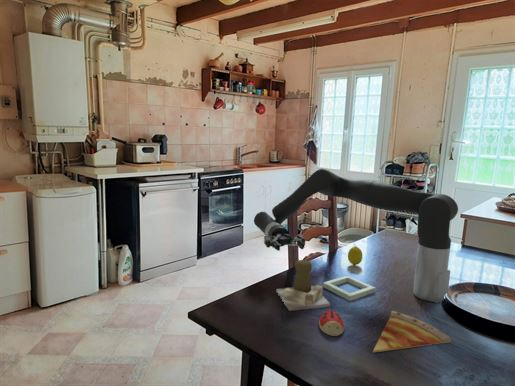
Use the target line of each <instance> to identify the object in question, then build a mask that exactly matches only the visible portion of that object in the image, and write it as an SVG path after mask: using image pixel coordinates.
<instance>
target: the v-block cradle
mask: <svg viewBox="0 0 515 386" xmlns="http://www.w3.org/2000/svg"><path fill="white" fill-rule="evenodd" d="M323 289H324V287H323V285H318V284H316V285H315V286H314V285H311V291H310V292H309V293H305V292H302V291H298V290H294V286H292V287H282V288H276V290H275V292H276V294H277V293H278V294H277V295H278V297H279V296H280V297H279V298H280V300H281V299H282V300H281V301H282V302H284V303H283V304H284V306H285V307H286V308H287V310H288V311H289V312H290V311H291V312H292V311H301V310H309V309H310V310H312V309H319V308H320V309H321V308H329V307H331V303H330V301H328V299H326V298H325V296H324V295H323Z"/></svg>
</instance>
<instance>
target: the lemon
mask: <svg viewBox="0 0 515 386" xmlns="http://www.w3.org/2000/svg"><path fill="white" fill-rule="evenodd" d="M362 260H363V252H362V249H361V248H360V247H358V246H356V245H355V246H353V247H351V248H350V249H349V251H348V253H347V261H349V263H350V264H351V265H353V266H357V265H359V264H361V263H362Z"/></svg>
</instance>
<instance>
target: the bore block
mask: <svg viewBox="0 0 515 386" xmlns="http://www.w3.org/2000/svg"><path fill="white" fill-rule="evenodd" d="M345 283H349V284H352V285H354V286H356V287H358V288H360V289H359V290H358V289H357V290H356V291H353V292H348V291H347V290H345V289H342V288H341V287H338V286H339V285H342V284H345ZM322 286H323V289H326V290H328V291H329V292H332V293H333V294H335V295H338V296H340V297H342V298H343V299H345V300H347V301H350V302H351V301H353V300H357V299H359V298H362V297H365V296H368V295H370V294H374V293H376V287H374V286H372V285H370V284H368V283H365V282H363V281H361V280H359V279H357V278H355V277H352V276H351V275H344V276H341V277H338V278H334V279H331V280H328V281H327V280H326V281H324V282H322Z"/></svg>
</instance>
